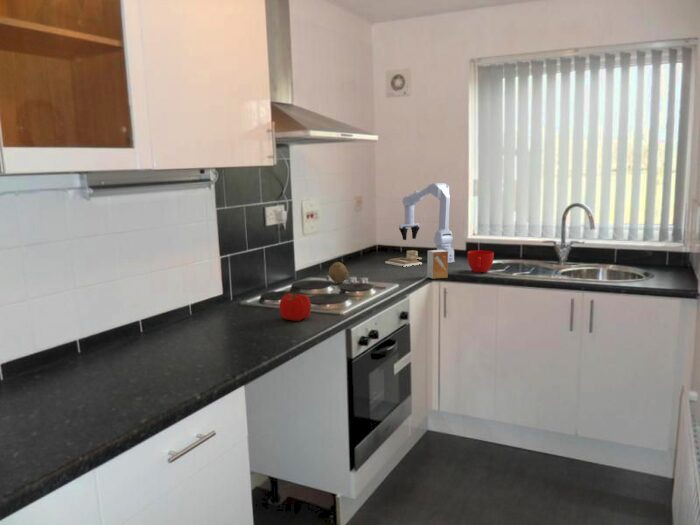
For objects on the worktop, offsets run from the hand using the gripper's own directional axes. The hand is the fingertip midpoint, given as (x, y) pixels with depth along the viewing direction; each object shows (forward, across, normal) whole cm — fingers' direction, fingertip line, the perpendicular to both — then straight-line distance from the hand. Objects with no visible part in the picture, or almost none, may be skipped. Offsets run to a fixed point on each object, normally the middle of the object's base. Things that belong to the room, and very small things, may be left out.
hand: (409, 239), depth 344 cm
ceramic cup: (+10, +10, +63) cm, 65 cm away
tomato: (+10, +129, +80) cm, 152 cm away
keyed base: (+10, +21, +18) cm, 29 cm away
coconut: (+10, +80, +38) cm, 89 cm away
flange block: (+10, +7, +10) cm, 16 cm away
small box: (+10, +35, +58) cm, 69 cm away
